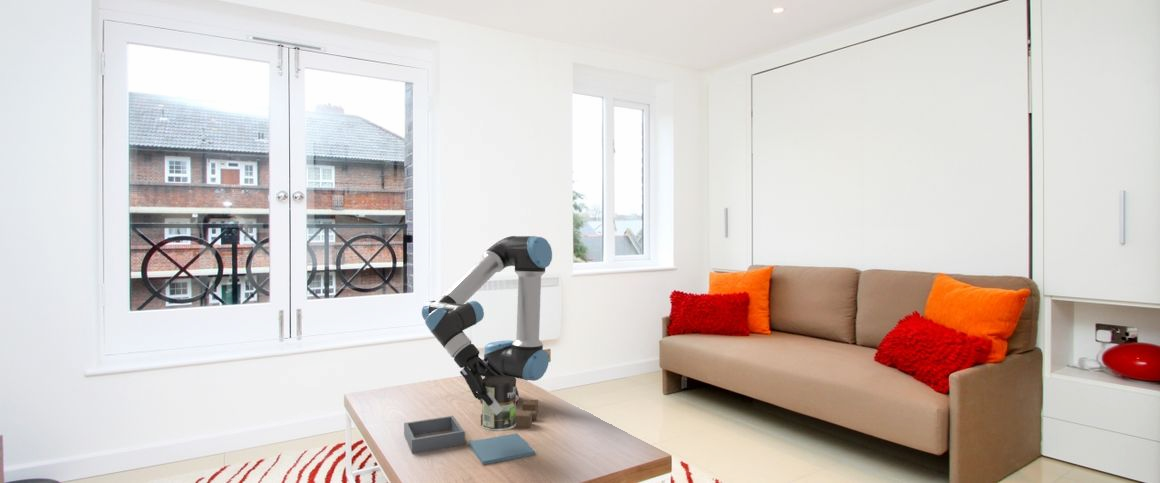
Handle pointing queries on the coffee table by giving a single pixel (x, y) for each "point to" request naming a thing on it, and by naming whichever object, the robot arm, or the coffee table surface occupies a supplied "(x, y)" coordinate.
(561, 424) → the coffee table surface
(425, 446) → the bin
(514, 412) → the coffee can
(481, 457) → the board
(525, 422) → the wooden block set
